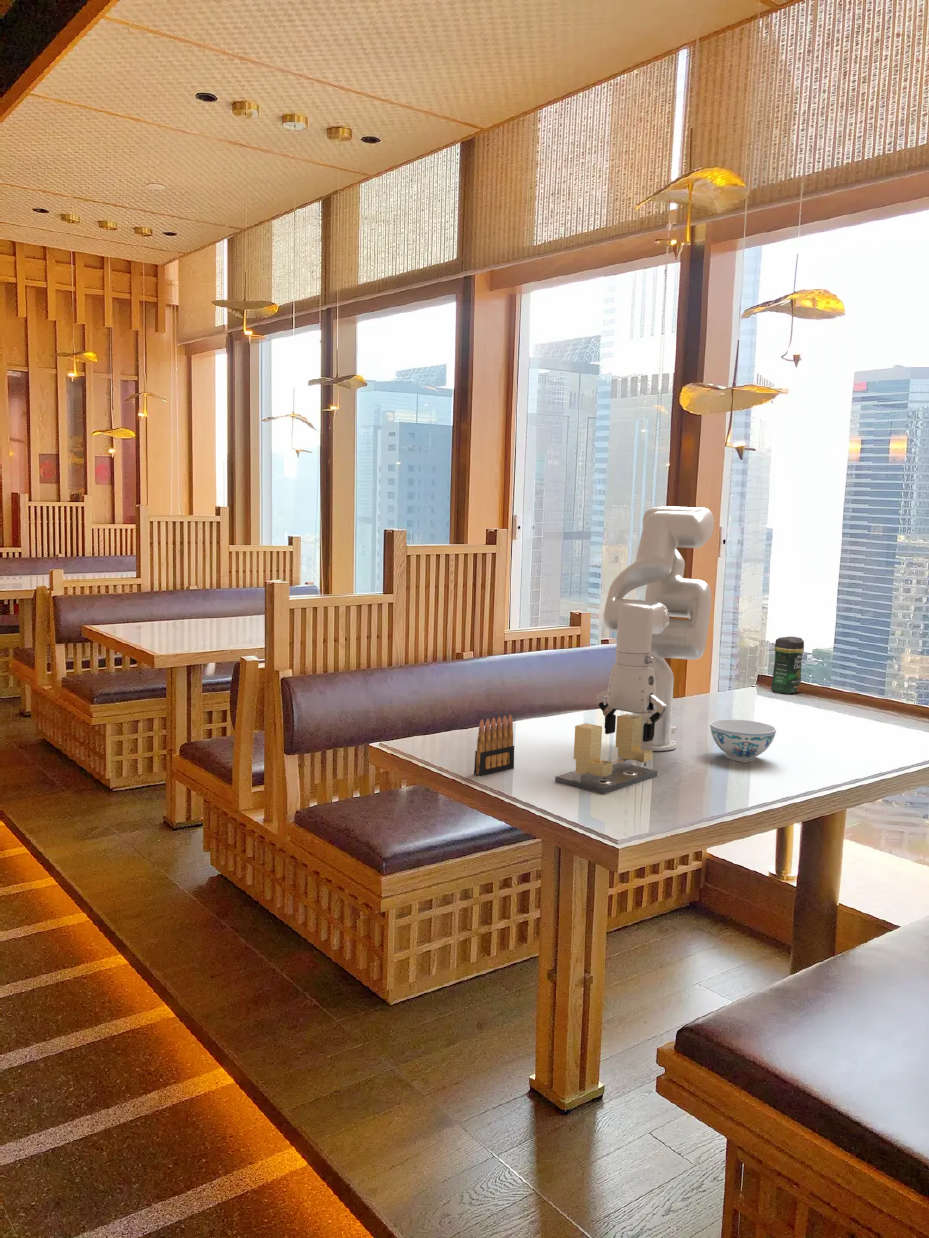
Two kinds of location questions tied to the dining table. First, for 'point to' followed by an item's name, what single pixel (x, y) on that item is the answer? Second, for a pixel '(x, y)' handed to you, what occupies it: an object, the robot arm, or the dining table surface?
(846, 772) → the dining table surface
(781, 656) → the coffee jar
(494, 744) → the ammunition clip
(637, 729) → the block
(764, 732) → the chinaware
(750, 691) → the dining table surface
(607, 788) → the hole plate
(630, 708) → the robot arm
